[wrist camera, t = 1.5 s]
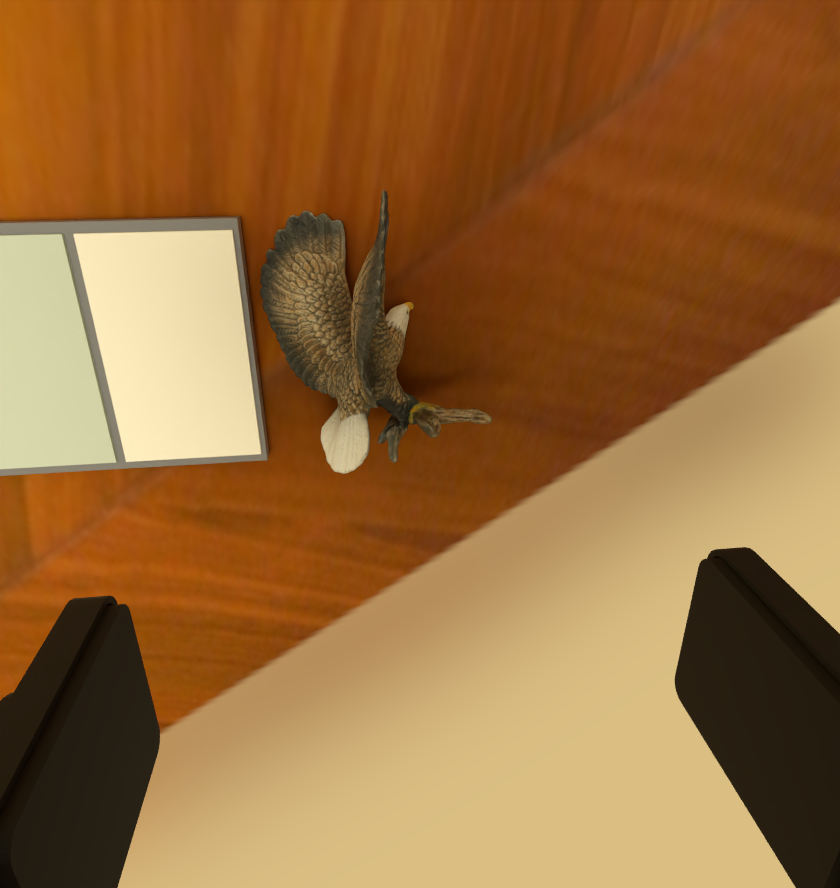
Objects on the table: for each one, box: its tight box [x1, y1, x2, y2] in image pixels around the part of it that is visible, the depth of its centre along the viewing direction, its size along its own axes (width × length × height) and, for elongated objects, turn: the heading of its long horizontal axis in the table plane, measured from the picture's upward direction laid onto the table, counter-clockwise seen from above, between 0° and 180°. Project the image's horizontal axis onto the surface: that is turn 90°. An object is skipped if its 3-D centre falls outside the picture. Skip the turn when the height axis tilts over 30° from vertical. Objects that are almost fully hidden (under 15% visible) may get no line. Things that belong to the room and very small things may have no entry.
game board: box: [0, 216, 269, 476], centre depth 25 cm, size 18×10×1 cm, turn 91°
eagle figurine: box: [260, 190, 492, 474], centre depth 24 cm, size 8×7×9 cm
